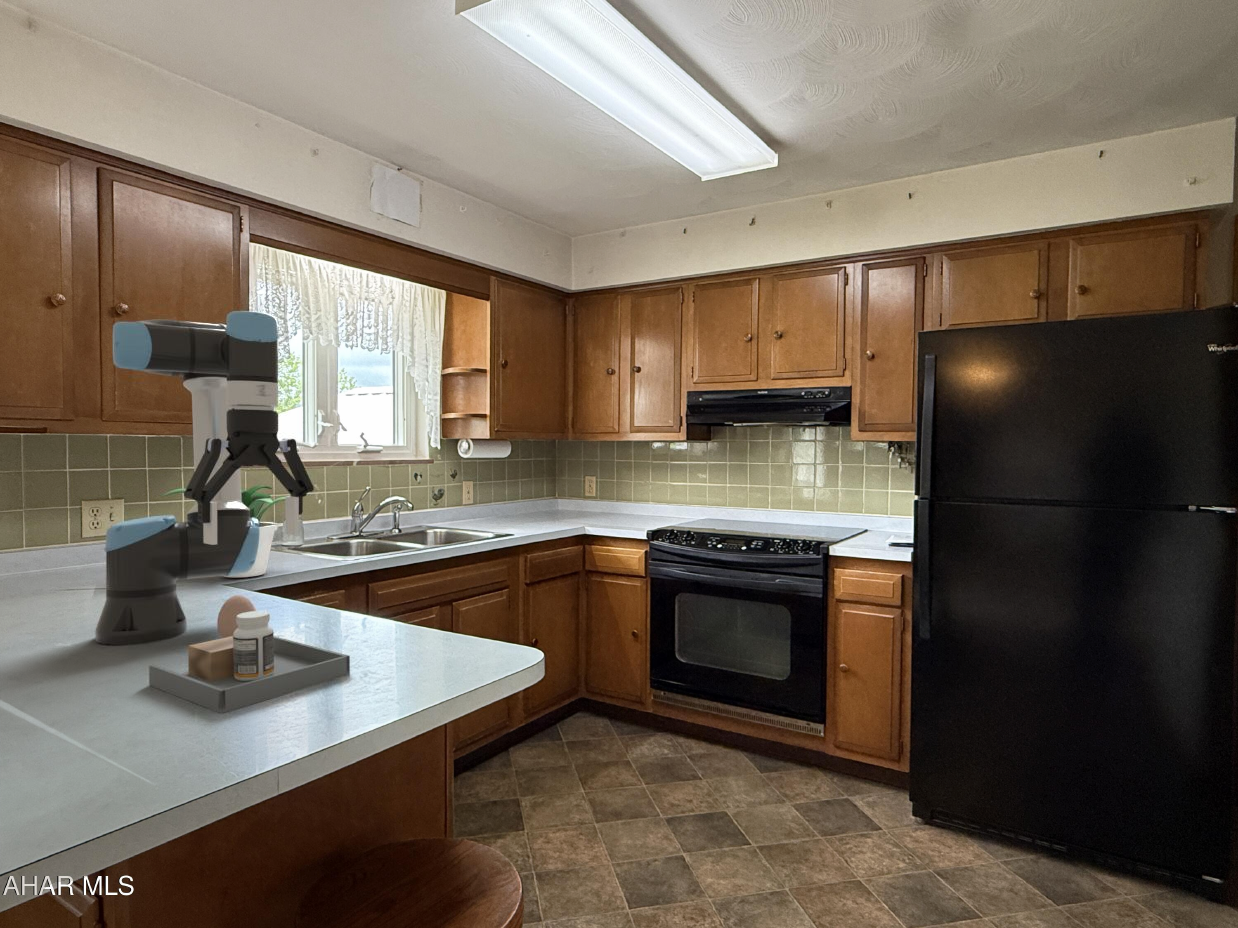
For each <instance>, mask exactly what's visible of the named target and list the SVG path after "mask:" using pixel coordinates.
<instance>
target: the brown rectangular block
mask: <svg viewBox="0 0 1238 928" xmlns="http://www.w3.org/2000/svg"><path fill="white" fill-rule="evenodd" d="M187 647H188V652H187V653H188V654H187V655H188V657H187V658H188V659H187V660H188V663H187V664H188V672H189V674H191V675H194V676H197V677H200V678H202V679H205V680H208V681H211V682H212V681H216V680H220V679H224V678H227V677H231V676H234V664H233V636H231V637H226V638H222V637H221V638H218V639H213V640H208V641H204V642H200V643H199V642H198V643H194V644H190V645H188V646H187Z"/></svg>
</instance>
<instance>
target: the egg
mask: <svg viewBox="0 0 1238 928" xmlns="http://www.w3.org/2000/svg"><path fill="white" fill-rule="evenodd" d="M251 611H257V610H256V608H255V606H254V604H253V603H252V601H251V600H250V599H249V598H248V597H246V596H244V595H241V594H237V595H233V596H231V597H229V598H228V599H226V601H225V602H224V604H222V605H221V607H220V611H219V612H218V616H217V620H216V621H217V622H216V623H217V630H218V633H219V635H220V636H221V638H226V637H231V636H233V633H234V631H235V630H236V629H237V628H238V625H237V623H236V617H237V615H239V614H241V613H245V612H251Z"/></svg>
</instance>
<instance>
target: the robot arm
mask: <svg viewBox="0 0 1238 928" xmlns="http://www.w3.org/2000/svg"><path fill="white" fill-rule="evenodd" d="M278 324H279V323H278V319H277V318H276V317H275V316H273V314H270V313H265V312H259V311H252V310H251V311H248V310H236V311H231V312H229V313H228V314H227V315H226V323H225V324H223V323H208V322H207V323H206V322H195V321H184V320H183V321H182V320H175V319H174V320H173V319H164V318H163V319H162V318H161V319H159V318H158V319H155V318H154V319H146V320H137V321H132V322H131V321H118V322H115V323H114V324H113V326H112V361H113V365H114V366H115V367H117V368H119V369H127V370H133V371H142V372H146V373H149V374H154V375H161V376H170V377H182V384H183V387H184V388H185V389H187V390H188V391H189V392H190V394H191V404H192V405H191V410H192V412H191V413H192V435H193V437H192V439H193V440H192V442H193V470H194V471H193V475H192V476H191V479H190V480H189V482H188V485H187V487H186V488H185V489H186V490H185V492H184V493H183V497H184V498H186V499H189V500H193V501H194V505H193V507H191V508H190V510H189V511H187V514H186V519H187V520H186V521H177V518H176V516H175V515H173V514H165V515H157V516H156V515H155V516H147V517H141V518H135V519H130V520H125V521H121V522H118V523H114V524H112V525H111V526H109V527H108V529H107V530H106V533H105V546H104V549H103V550H104V552H105V590H106V591H105V594H106V595H105V603H104V606H103V609H102V611H101V614H100V616H99V619H98V621H97V625H96V627H95V631H94V632H95V633H94V634H95V642H96V643H98V644H100V643H101V644H100V645H105V644H110V645H109V646H127V645H128V644H132V645H141V644H140V643H142V644H148V643H155V642H159V641H163V640H169V639H172V638H175V637H178V636H180V634H181V635H183V634H184V633H185V631H187V628H188V625H187V624H188V623H187V622H188V621H187V618H186V615H185V613H184V610H183V609H184V608H182V604H181V602H180V600H179V598H178V594H177V581H178V580H189V579H190V580H191V579H199V578H210V577H211V578H212V577H224V576H225V575H226V576H230V575H233V574H241V573H246V572H248V571H249V570H251V569H252V567H253V565H254V563H255V560H256V556H257V552H258V546H259V535H260V529H259V521H258V519H256V518H254V517H252V518H250V509H249V508H248V507H246V506H245V505H244V504H243V503H242V499H241V490H242V480H241V478H242V477H241V476H242V475H241V467H254V466H255V467H266V468H268V469H269V470H270V472H271V473H272V475H274V476H275V478H277V480H278V481H279V483H280V484H282V486H283V487H284V488H285V489H286V492H288V493H289V494H290V495H285V497H286V500H285V535H290V536H300V535H299V529H300V524H299V523H300V522H299V521H300V520H299V519H300V518H299V516H301V515H302V514H303V510H304V509H303V505H304V501H303V499H304V497H306V496H307V495H308V493H312V492H314V485H313V483H312V480H311V479H310V476H309V474H308V473H307V470H306V467H305V466H304V463H303V461H302V459H301V457H300V455H299V453H298V448H297V440H296V439H295V438H282V439H280V440H279V439H278V433H279V413H278V411H277V410H275V408H278V406H279V339H280V334H279V326H278ZM278 450H280V452H281V453H282V455H283V457H284V459H285V462H286V463H287V465H288V467H289V470H290V472H291V473H292V474H291V473H290V472H289V470H287V468H286V467H285V466H284V465H283V464H282V463H283V461H281V459H280V458H279V456H278V455H277V452H278ZM182 633H183V634H182ZM177 635H178V636H177ZM174 636H175V637H174ZM128 646H129V645H128Z"/></svg>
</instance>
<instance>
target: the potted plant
mask: <svg viewBox="0 0 1238 928" xmlns="http://www.w3.org/2000/svg"><path fill="white" fill-rule="evenodd" d="M260 489H268V490H273V489H272V488H271V486H268V485H264V484H261V485H260V484H259V485H254V486H251V487H250V488H248V489H247V490H245V489H241V499H242V503H243V504H244V505H245V506H246V507H248V508H249V509H250V518H252V517H254V518H256V519H258V521H259V529H260V535H259V546H258V552H257V556H256V560H255V563H254V565H253V567H252V569H251V570H249V571H248V572H246V573H241V574H233V575H230V576H226V575H225V576H223V577H225V578H249V577H257V576H261V575H265V574H266V571H267V568H268V563H269V558H270V554H271V549H272V543H273V539H274V535H275V531H277V530H278V528H279V522H278V523H277V522H272V521H261V520H262V517H263V516H264V514H265V513H266V512H267V511H268V510H269V509H270V508H272V506H273V505H275V504H278V503H279V502H282V501H283V502H284V501H286V496H283V497H281V496H280V497H278V498H275V499H274V500H273V499H272V498H271V495H270V494H269V493H268V494H267V493H264V492H259V490H260ZM185 490H186V488H177V489H174V490H170V491H168V492H167V493H164V494H162V495H161V496H160V497H161V498H162V497H168V496H172V495H177V494H184V492H185ZM265 503H267V504H266V505H265V506H264V504H265ZM263 506H264V507H263ZM261 509H262V510H261Z"/></svg>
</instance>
